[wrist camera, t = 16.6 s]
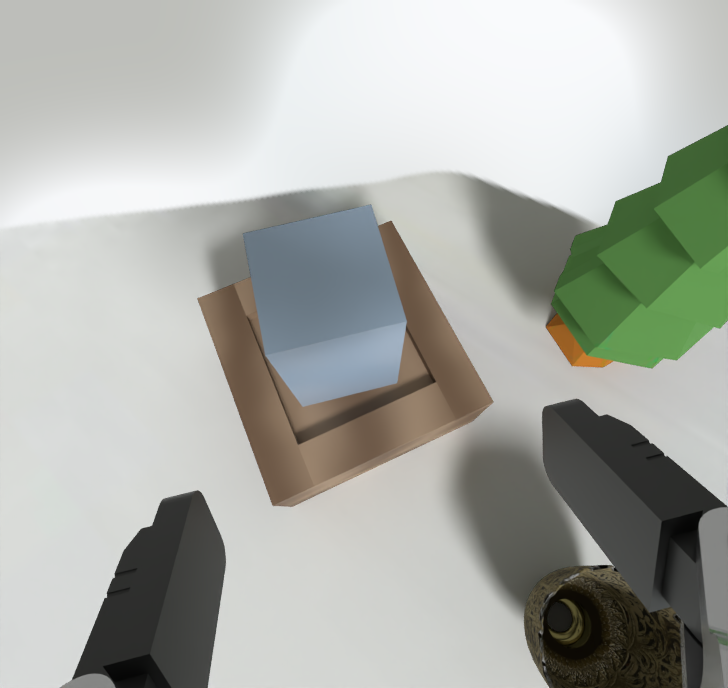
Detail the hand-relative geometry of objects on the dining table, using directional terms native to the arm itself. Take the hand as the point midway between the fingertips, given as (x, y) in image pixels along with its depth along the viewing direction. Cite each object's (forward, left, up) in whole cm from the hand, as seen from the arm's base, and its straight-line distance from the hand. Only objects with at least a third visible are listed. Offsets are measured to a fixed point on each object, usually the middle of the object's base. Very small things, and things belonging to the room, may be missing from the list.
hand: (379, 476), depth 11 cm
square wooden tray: (-3, -9, -23) cm, 24 cm away
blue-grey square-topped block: (-3, -9, -17) cm, 19 cm away
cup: (-6, +12, -22) cm, 26 cm away
